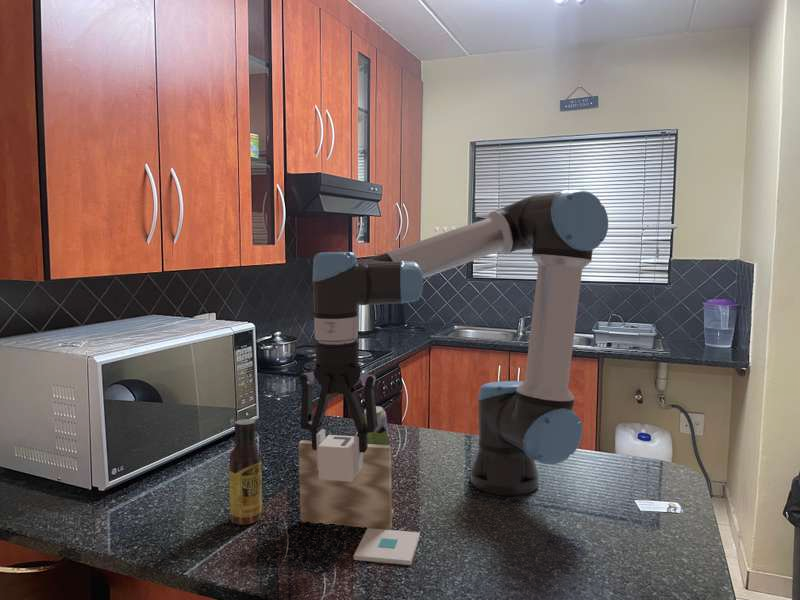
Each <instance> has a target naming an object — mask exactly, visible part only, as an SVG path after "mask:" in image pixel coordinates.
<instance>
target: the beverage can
mask: <svg viewBox="0 0 800 600" xmlns="http://www.w3.org/2000/svg"><path fill="white" fill-rule="evenodd" d="M363 411H364V412H363V415H364V418H365V421H366V424H367V417H366V408H365V409H364V410H363ZM376 413H377V423H378V426H377V428H376V429H375V430H374V432H372V433H371V432H370V433H367V440H368V444H374V445H391V442H390V435H389V434H390V433H389V429H388V419H387V412H386V410H384V407H382V406H380V405H376Z"/></svg>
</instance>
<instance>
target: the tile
mask: <svg viewBox="0 0 800 600" xmlns="http://www.w3.org/2000/svg"><path fill="white" fill-rule="evenodd" d="M420 538H421V532H417V531H406V530H395V529H390V530H389V529H377V528H366V530H365V532H364V534H363V536H362V538H361V540H360V542H359V545H358V547H357V548H356V550H355V552H354V554H353V560H355V561H361V562H372V563H374V562H375V563H383V564H392V565H394V564H395V565H405V566H411V565H412V563H413V560H414V556H415V553H416V551H417V550H416V549H417V546H418V544H419V540H420Z"/></svg>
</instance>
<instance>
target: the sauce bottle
mask: <svg viewBox="0 0 800 600" xmlns="http://www.w3.org/2000/svg"><path fill="white" fill-rule="evenodd" d="M256 423H257V422H256V421H255V419H250V418H245V419H238V420H235V421H234V425H233V426H234V431H235V441H234V442H235V446H234V447H233V449H232V451H231V453H230V456H229V468H228V469H229V470H228V473H229V474H228V475H229V477H228V479H229V482H228V483H229V487H228V488H229V489H228V490H229V514H230V515H229V517H230V518H229V519H230V522H231V523H232V524H235V525H236V526H237V525H238V526H249V525H252V524H255V523H257V522H258V521H259V520H260V519H261V517H262V513H263V512H262V510H263V479H262V478H263V475H262V474H263V472H262V470H263V468H262V467H263V465H262V463H263V462H262V458H261V456H260V453H259V450H258V447H257V444H256V433H255V432H256V428H257V425H256Z"/></svg>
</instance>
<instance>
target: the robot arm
mask: <svg viewBox="0 0 800 600" xmlns="http://www.w3.org/2000/svg"><path fill="white" fill-rule="evenodd" d="M608 230H609V218H608V213H607V211H606V208H605V206H604V205H603V203H601V200H600V199H599V198H598V196H596V195H595V194H593V193H591V192H590V191H586V190H582V189H565V190H562V191H561V190H560V191H556V192H555V191H554V192H548V193H540V194H539V193H537V194H534V195H531V196H528V197H525V198H523V199H521V200H517V201H515V202H513V203H511V204H508V205H507V206H504V207H501V208H499V209H496V210H494V211H490V213H488V215H487V216H486V218H483V219H482V220H478V221H476V222H475V221H474V222H472V223H470V224H467V225H464V226H461V227H457V228H455V229H450V230H449V231H448V230H447V231H445V232H443V233H440V234H437V235H434V236H431V237H428V238H424V239H422V240H418V241H416V242H413V243H410V244H407V245H404V246H401V247H398V248H396V249H393V250H390V251H389V250H388V251H386V252H384V253H380V254H377V255H375V256H372V257H368V258H360V259H357V255H356V254H355V253H354V252H353V251H352V252H351V251H338V252H337V251H336V252H335V251H332V252H331V251H330V252H329V251H327V252H324V251H323V252H319V253H316V254H314V257H313V259H312V260H313V261H312V262H313V264H312V278H311V281H312V288H313V291H312V292H313V304H314V305H313V311H314V316H313V318H314V320H313V321H314V338H315V340H316V341H317V342H316V343H315V344H314V350H315V353H314V355H315V357H314V358H315V368H314V369H313V371H310V372H308V371H306V372H304V373H302V374H301V375H299V376H298V380H299V383H300V386H301V405H300V406H301V407H300V428H301V429H302V430H307V431H309V432H310V434H311V441H312V449H313V450H317V469H318V470H319V464H318V446H319V445H320V444H321V443H322V441H323V440H324V439H325V438H326V437H327V436H326V429H323V422H324V419H325V415H326V411H327V409H328V404H329V401H330V398H331V396H332V395H333V394H340V395H343V398H344V400H346V403H347V405H348V409H349V412H350V414H351V417H352V420H353V423H354V426H355V428H356V433H355V434H354V435H353V436H354V463H355V472H359V471H360V470H361V468H362V467H363V453H365V451H366V450H367V448H368V440H367V433H370V432H371V433H372V432H374V430H375V429H376V428H377V426H378V423H377V413H376V406H377V404H376V395H375V394H376V393H375V384H376V380H377V375H376V373H375V374H374V373H371V374H369V373H365V372H362V368H361V367H360V365H359V363H360V362H359V342H358V341H357V340H356V339H357V338H358V337H359V325H358V306H366V305H386V304H387V305H389V304H401V305H404V304H406V303H414V302H417V301H419V300H420V298H421V296H422V294H423V290H424V279H425V278H426V279H427V278H428V277H432V276H434V275H436V274H440V273H442V272H445V271H448V270H450V269H453V268H456V267H457V268H458V267H459V266H462V265H465V264H467V263H470V262H473V261H476V260H480V259H481V258H482V259H483V258H485V257H488V256H490V255H492V254H495V253H499V254H502V255H507V254H509V253H513V252H516V251H522V250H523V251H525V250H532V252H531V257H532V259H533V260H534V261H535V262H536V264H537V274H536V284H535V293H534V297H533V298H534V299H533V308H532V315H531V323H530V324H531V325H530V326H531V327H530V333H529V342H528V349H527V351H528V352H527V358H526V359H527V360H526V367H525V375H524V376H525V377H524V381H522V380H521V381H520V380H519V381H518V380H517V381H516V380H505V381H492V382H487V383H485V384H484V383H483V384H482V385H481V386H480V388H479V391H478V399H477V403H478V449H477V451H476V455H475V457H474V461H473V462H472V463H473V464H472V466H471V470H470V482H471V484H472V486H473V487H475V488H476V489H477V490H479V491H482V492H485V493H487V494H492V495H496V496H510V497H511V496H521V495H526V494H530V493H532V492H534V491H535V490H537V488H538V487H539V472H538V469H537V465H536V463H535V461H537V462H539V463H542V464H545V465H556V464H560V463H563V462H564V461H566V460H568V459H569V457H570V456H571V455H573V454H574V453H575V452H576V451H577V449H578V448H579V447H580V444H581V441H582V438H583V433H584V432H583V430H584V429H583V424H582V421H581V420H580V418H579V416H578V415H577V413H575V412H574V405H575V395H574V394H573V392H571V390H570V389H569V380H570V374H571V373H570V372H571V364H572V358H573V357H572V356H573V347H574V341H575V332H576V324H577V315H578V308H579V307H578V306H579V300H580V299H579V298H580V291H581V281H582V274H583V270H584V268H585V267H587V266H588V265H589V264H590V263H592V257H593V252H594V250H595V249H596V248H598V247H599V246H600V245H601V243H602V242H604V240H605V238H606V237H607V233H608ZM315 380H316V381H317V382H318V384H319V385H320V386H321V389H320V393H319V395H318V396H319V398H318V401H317V405H316V408H315V411H314V416H313V401H314V400H313V396H314V393H313V392H314V383H315ZM359 380H360V381H361V385H362V386H363V387H364V388H363V394H364V405H365V409H366V417H367V424H366V421H365V418H364V415H363V414H364V412H363V409H362V407H361V404H360V401H359V400H360V399H359V397H358V394H357V393H358V392H357V389H356V386H355V385H356V384H357V383H358V381H359Z"/></svg>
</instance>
